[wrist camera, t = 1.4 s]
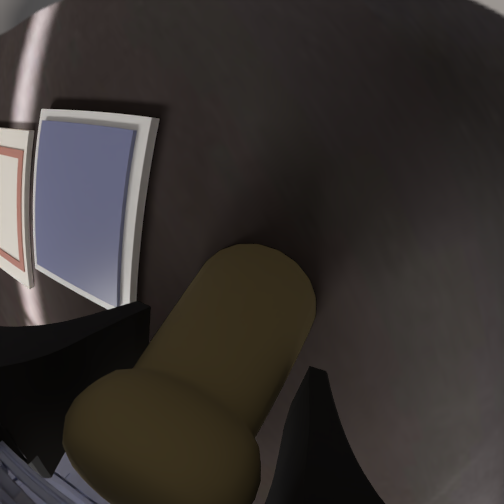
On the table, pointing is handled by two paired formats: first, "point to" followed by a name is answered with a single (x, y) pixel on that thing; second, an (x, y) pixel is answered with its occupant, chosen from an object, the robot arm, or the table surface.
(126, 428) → the cork
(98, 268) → the ink pad
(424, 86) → the table surface
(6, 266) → the marked board
